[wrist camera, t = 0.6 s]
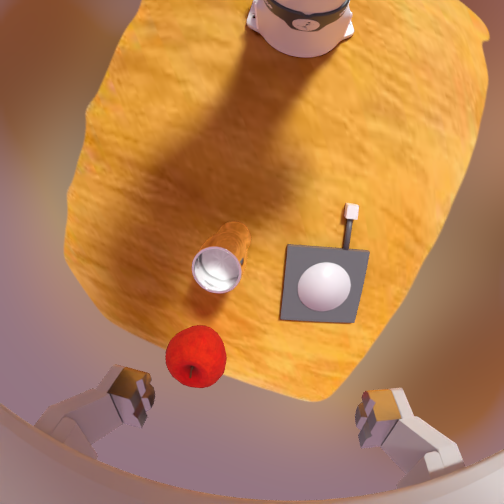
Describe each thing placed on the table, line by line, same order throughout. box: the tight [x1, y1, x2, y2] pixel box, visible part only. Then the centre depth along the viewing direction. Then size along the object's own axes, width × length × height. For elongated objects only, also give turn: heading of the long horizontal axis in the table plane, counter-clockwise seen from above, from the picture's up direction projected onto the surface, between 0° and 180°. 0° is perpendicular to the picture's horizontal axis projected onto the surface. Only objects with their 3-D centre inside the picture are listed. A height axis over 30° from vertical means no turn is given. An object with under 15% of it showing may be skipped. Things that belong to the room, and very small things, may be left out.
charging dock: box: [281, 203, 370, 323], centre depth 49 cm, size 23×15×2 cm, turn 177°
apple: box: [166, 325, 226, 388], centre depth 51 cm, size 12×12×13 cm
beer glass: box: [192, 221, 251, 293], centre depth 43 cm, size 7×7×15 cm
